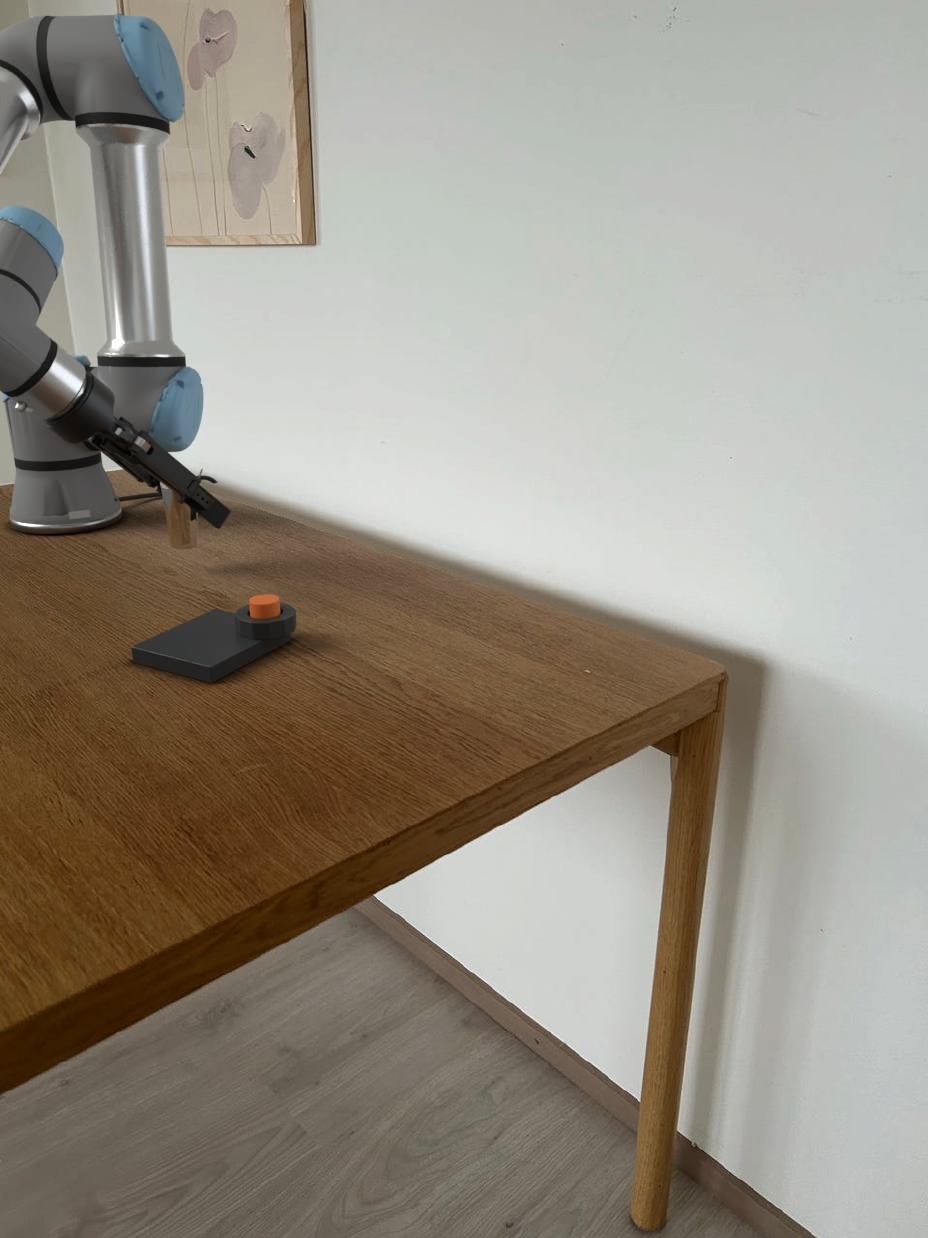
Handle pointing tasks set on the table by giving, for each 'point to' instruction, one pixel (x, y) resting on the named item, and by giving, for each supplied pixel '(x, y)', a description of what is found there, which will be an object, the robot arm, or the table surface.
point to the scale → (215, 643)
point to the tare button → (264, 606)
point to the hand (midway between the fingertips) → (211, 515)
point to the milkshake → (180, 520)
